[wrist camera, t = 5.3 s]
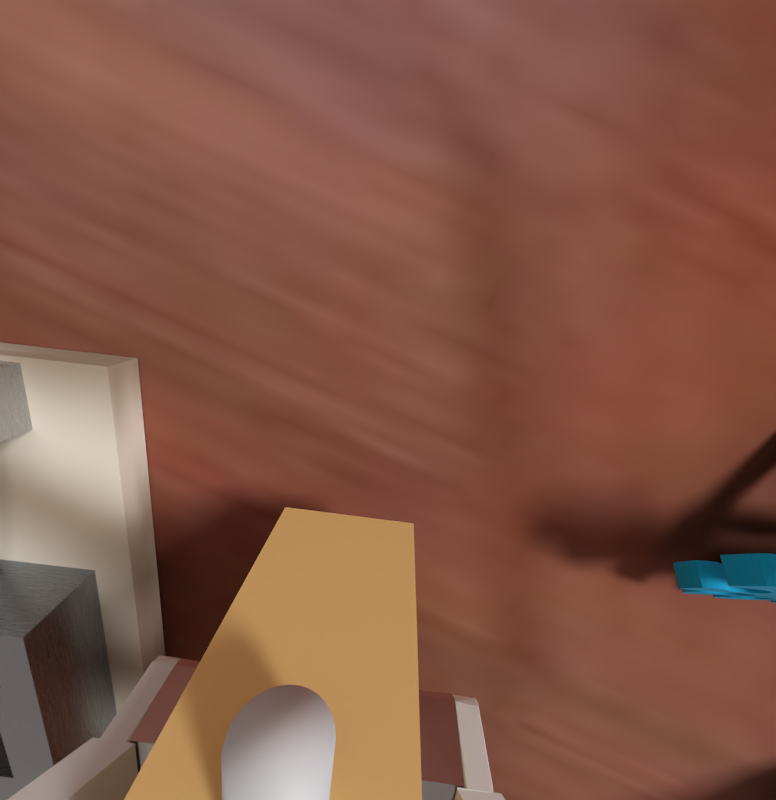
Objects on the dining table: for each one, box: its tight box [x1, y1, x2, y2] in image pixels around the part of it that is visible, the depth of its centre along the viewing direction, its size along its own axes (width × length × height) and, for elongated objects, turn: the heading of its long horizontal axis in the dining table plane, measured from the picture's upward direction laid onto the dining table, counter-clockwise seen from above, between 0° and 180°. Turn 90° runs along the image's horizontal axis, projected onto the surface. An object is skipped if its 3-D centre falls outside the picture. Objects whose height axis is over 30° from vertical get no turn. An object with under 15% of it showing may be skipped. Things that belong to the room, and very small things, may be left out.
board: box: [0, 342, 165, 712], centre depth 17 cm, size 26×12×2 cm, turn 174°
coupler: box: [124, 507, 422, 800], centre depth 8 cm, size 6×4×8 cm, turn 173°
